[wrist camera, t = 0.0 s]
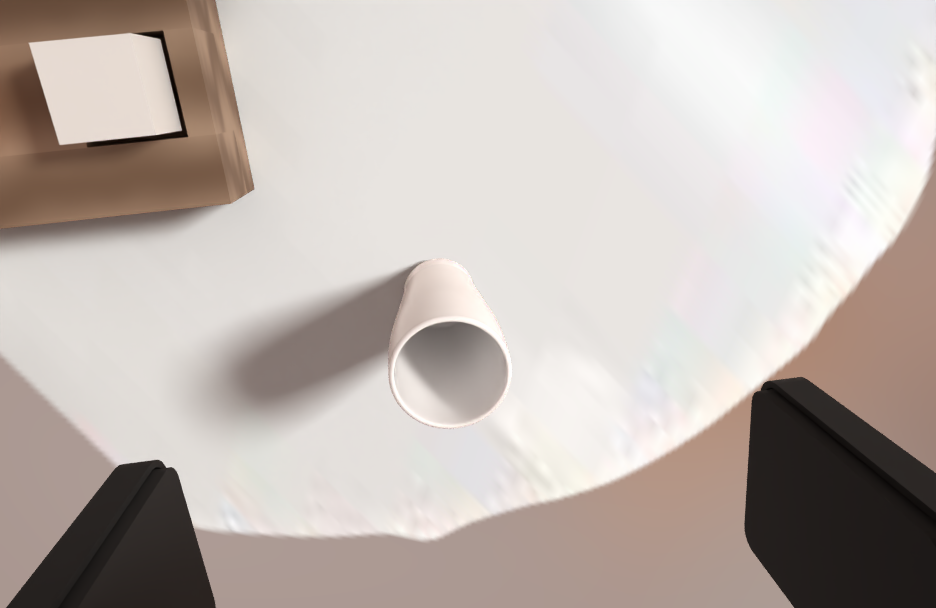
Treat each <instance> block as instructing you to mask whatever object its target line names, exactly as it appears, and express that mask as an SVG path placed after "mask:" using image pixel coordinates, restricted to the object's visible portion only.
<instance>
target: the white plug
mask: <svg viewBox="0 0 936 608" xmlns="http://www.w3.org/2000/svg"><path fill="white" fill-rule="evenodd" d="M29 45H30V49H31V52H32V55H33V59H34V62H35V65H36V69H37V72H38V75H39V78H40V82H41V85H42V88H43V92H44V95H45V98H46V102H47V105H48V108H49V111H50V115H51V118H52V121H53V125H54V128H55V131H56V135H57V138H58V141H59V145H64V144H74V143H84V142H93V141H103V140H113V139H122V138H132V137H142V136H151V135H159V134H165V133H171V132H176V131H182V128H181V124H180V120H179V115H178V111H177V107H176V103H175V99H174V94H173V90H172V86H171V82H170V78H169V73H168V69H167V65H166V61H165V57H164V52H163V48H162V44H161V40H160V39H157V38H152V37H147V36H142V35H137V34H132V33H126V34H116V35H105V36H95V37H84V38H74V39H63V40H53V41H43V42H32V43H29Z"/></svg>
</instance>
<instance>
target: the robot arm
mask: <svg viewBox="0 0 936 608" xmlns="http://www.w3.org/2000/svg"><path fill="white" fill-rule="evenodd" d="M745 534H746V538H747V541H748V543H749V546H750V548H751V550H752V551H753V553H754V554H755V555H756V557H757V558H758V559H759V561H760V562H761V563H762V565H763V566H764V567H765V569H766V570H767V571H768V573H769V574H770V575H771V577H772V578H773V579H774V581H775V582H776V584H777V585H778V586H779V588H780V589H781V590H782V592H783V593H784V594H785V595H786V597H787V598H788V600H789V601H790V602H791V604H792V605H793V607H794V608H936V473H934V471H932V470H931V469H929V468H928V467H927V466H925V465H924V464H922V463H921V462H920V461H918V460H917V459H916V458H914V457H913V456H911V455H910V454H909V453H907V452H906V451H905V450H903V449H902V448H900V447H899V446H898V445H896V444H895V443H894V442H892V441H891V440H889V439H888V438H887V437H885V436H884V435H883V434H881V433H880V432H879V431H877V430H876V429H874V428H873V427H872V426H870V425H869V424H868V423H866V422H865V421H864V420H862V419H861V418H859V417H858V416H857V415H855V414H854V413H853V412H851V411H850V410H848V409H847V408H846V407H844V406H843V405H841V404H840V403H839V402H837V401H836V400H835V399H833V398H832V397H831V396H829V395H828V394H826V393H825V392H824V391H822V390H821V389H819V388H818V387H817V386H815V385H814V384H813V383H811V382H810V381H809V380H807V379H805V378H803V377H797V378H789V379H781V380H774V381H767V382H765V383H764V384H763V386H762V388H761V391H757V392H755V393H754V395H753V397H752V407H751V424H750V441H749V458H748V475H747V491H746V509H745ZM6 608H216V607H215V601H214V597H213V593H212V590H211V587H210V583H209V580H208V576H207V573H206V569H205V566H204V562H203V559H202V556H201V552H200V549H199V545H198V542H197V538H196V535H195V532H194V528H193V524H192V521H191V518H190V514H189V511H188V507H187V504H186V500H185V497H184V494H183V490H182V487H181V483H180V480H179V476H178V474H177V472H176V470H175V469H174V468H172V467H170V468H166V467H165V465H164V464H163V462H162V461H160V460H152V461H145V462H137V463H129V464H122V465H119V466H118V467H117V468H115V469H114V471H113V472H112V473H111V475H110V476H109V477H108V478H107V480H106V481H105V482H104V484H103V485H102V486H101V488H100V489H99V490H98V491H97V492H96V494H95V495H94V496H93V498H92V499H91V500H90V501H89V503H88V504H87V505H86V507H85V508H84V509H83V511H82V512H81V513H80V514H79V515H78V517H77V518H76V519H75V521H74V522H73V523H72V524H71V526H70V527H69V528H68V530H67V531H66V532H65V534H64V535H63V536H62V537H61V538H60V540H59V541H58V542H57V544H56V545H55V546H54V547H53V549H52V550H51V551H50V552H49V554H48V555H47V557H46V558H45V559H44V560H43V561H42V563H41V564H40V565H39V567H38V568H37V569H36V570H35V572H34V573H33V574H32V576H31V577H30V578H29V579H28V581H27V582H26V583H25V584H24V586H23V587H22V588H21V590H20V591H19V592H18V593H17V595H16V596H15V597H14V599H13V600H12V601H11V602H10V604H9V605H8V606H7V607H6Z"/></svg>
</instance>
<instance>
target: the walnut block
mask: <svg viewBox="0 0 936 608" xmlns="http://www.w3.org/2000/svg"><path fill="white" fill-rule="evenodd" d="M126 33H132V34H137V35H142V36H147V37H152V38H157V39H160V40H161V44H162V48H163V52H164V57H165V61H166V65H167V69H168V73H169V78H170V82H171V86H172V90H173V94H174V99H175V103H176V107H177V111H178V115H179V120H180V124H181V128H182V131H176V132H171V133H165V134H159V135H151V136H142V137H132V138H122V139H113V140H103V141H93V142H84V143H74V144H64V145H59V141H58V138H57V135H56V131H55V128H54V125H53V121H52V118H51V115H50V111H49V108H48V105H47V102H46V98H45V95H44V92H43V88H42V85H41V82H40V78H39V75H38V72H37V69H36V65H35V62H34V59H33V55H32V52H31V49H30V45H29V43H32V42H43V41H53V40H63V39H74V38H84V37H95V36H105V35H116V34H126ZM252 190H254V185H253V180H252V175H251V170H250V165H249V161H248V156H247V151H246V146H245V141H244V137H243V132H242V127H241V122H240V117H239V112H238V108H237V103H236V98H235V93H234V88H233V84H232V79H231V74H230V69H229V64H228V59H227V55H226V50H225V45H224V40H223V35H222V31H221V26H220V21H219V16H218V11H217V7H216V2H215V0H0V229H3V228H12V227H21V226H30V225H39V224H48V223H58V222H67V221H76V220H85V219H94V218H103V217H112V216H122V215H131V214H140V213H149V212H158V211H167V210H176V209H185V208H195V207H204V206H213V205H222V204H231V203H233V202H234V201H236V200H238V199H239V198H241V197H242V196H244V195H246V194H247V193H249V192H250V191H252Z"/></svg>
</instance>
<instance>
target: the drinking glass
mask: <svg viewBox="0 0 936 608" xmlns="http://www.w3.org/2000/svg"><path fill="white" fill-rule="evenodd" d="M388 371H389V373H388V375H389V384H390V388H391V391H392V394H393V396H394V398H395V400H396V401H397V403H398V404H399V406H400V407H401V408H402V409H403V410H404V411H405V412H406V413H407V414H408V415H409V416H411V417H412V418H413V419H415V420H417V421H419V422H421V423H423V424H425V425H428V426H431V427H436V428H443V429H454V428H461V427H465V426H469V425H472V424H474V423H477V422H479V421H481V420H482V419H484V418H486V417H487V416H488V415H490V414H491V413H492V412H493V411H494V410H495V409H496V408H497V407H498V406H499V405H500V403H501V402H502V401H503V399H504V397H505V396H506V394H507V391H508V389H509V386H510V382H511V376H512V365H511V359H510V355H509V351H508V347H507V343H506V340H505V337H504V334H503V332H502V329H501V327H500V325H499V323H498V321H497V319H496V317H495V315H494V314H493V312H492V310H491V309H490V307H489V306H488V304H487V303H486V302H485V300H484V299H483V297H482V296H481V294H480V293H479V291H478V290H477V288H476V286H475V285H474V282H473V280H472V278H471V276H470V274H469V273H468V272H467V270H466V269H465V268H464V267H462V266H461V265H460V264H458V263H456V262H454V261H452V260H448V259H440V258H439V259H431V260H428V261H425V262H423V263H421V264H419V265H418V266H417V267H416V268H414V269H413V270H412V272H411V273H410V274H409V276H408V278H407V280H406V282H405V285H404V292H403V297H402V300H401V304H400V307H399V310H398V313H397V316H396V319H395V322H394V325H393V328H392V332H391V337H390V343H389V352H388Z"/></svg>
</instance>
